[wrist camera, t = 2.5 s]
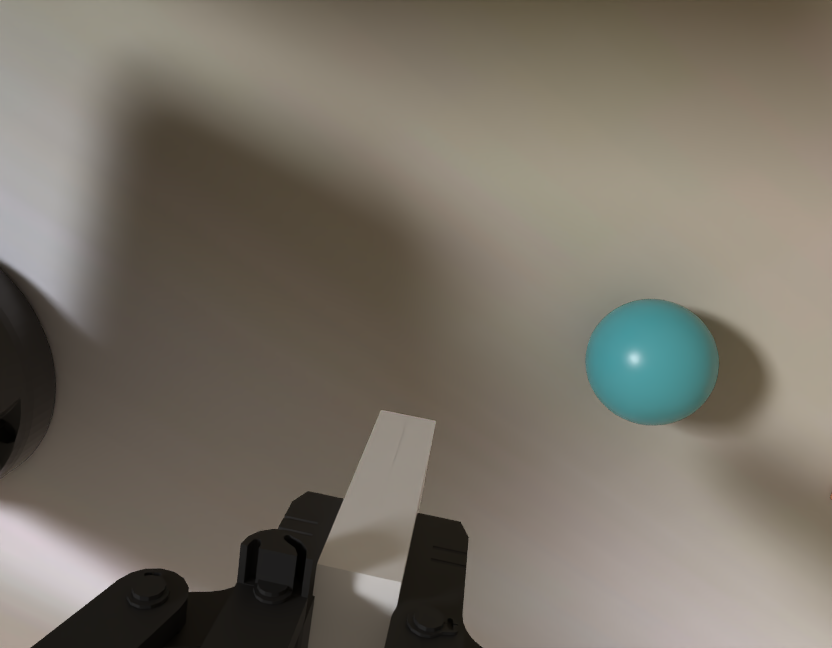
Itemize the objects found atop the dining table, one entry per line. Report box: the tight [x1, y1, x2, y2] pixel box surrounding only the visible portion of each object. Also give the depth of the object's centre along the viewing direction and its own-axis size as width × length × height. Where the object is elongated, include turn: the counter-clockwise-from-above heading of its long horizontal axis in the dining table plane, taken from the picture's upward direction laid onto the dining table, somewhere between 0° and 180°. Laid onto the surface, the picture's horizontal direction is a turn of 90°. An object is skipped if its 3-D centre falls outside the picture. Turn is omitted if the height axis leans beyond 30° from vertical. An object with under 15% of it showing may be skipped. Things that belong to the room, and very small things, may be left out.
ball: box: [586, 299, 719, 425], centre depth 30 cm, size 6×6×6 cm
